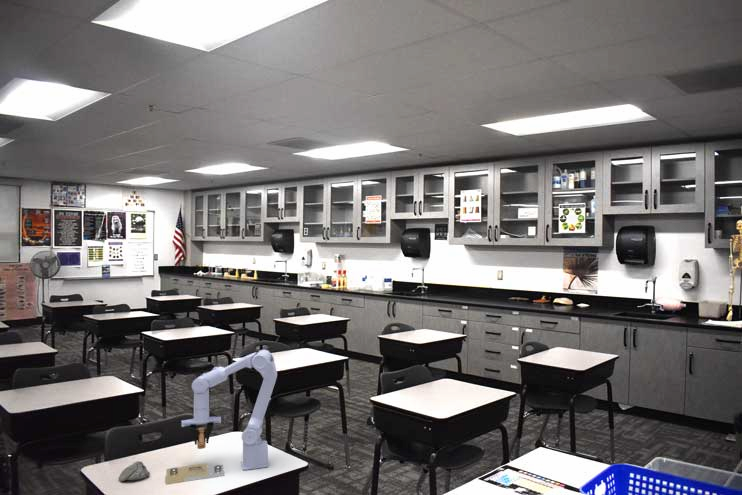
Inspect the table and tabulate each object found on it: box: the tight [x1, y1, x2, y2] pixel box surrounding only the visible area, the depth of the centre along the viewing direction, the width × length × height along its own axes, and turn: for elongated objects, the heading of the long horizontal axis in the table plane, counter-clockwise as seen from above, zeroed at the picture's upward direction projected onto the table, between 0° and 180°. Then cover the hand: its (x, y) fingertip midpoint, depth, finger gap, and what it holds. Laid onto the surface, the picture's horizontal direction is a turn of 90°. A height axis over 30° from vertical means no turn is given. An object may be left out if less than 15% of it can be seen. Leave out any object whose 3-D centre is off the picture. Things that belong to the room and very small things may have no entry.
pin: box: [196, 427, 207, 450], centre depth 204 cm, size 4×4×7 cm
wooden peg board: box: [165, 463, 225, 485], centre depth 195 cm, size 20×8×3 cm, turn 110°
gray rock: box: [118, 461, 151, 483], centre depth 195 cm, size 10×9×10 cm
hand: (201, 443), depth 204 cm, fingers closed on pin, 3 cm apart
